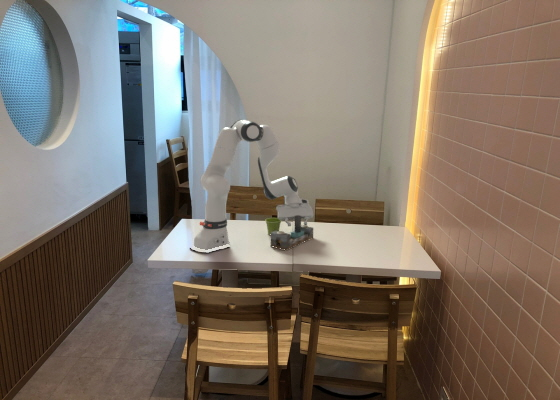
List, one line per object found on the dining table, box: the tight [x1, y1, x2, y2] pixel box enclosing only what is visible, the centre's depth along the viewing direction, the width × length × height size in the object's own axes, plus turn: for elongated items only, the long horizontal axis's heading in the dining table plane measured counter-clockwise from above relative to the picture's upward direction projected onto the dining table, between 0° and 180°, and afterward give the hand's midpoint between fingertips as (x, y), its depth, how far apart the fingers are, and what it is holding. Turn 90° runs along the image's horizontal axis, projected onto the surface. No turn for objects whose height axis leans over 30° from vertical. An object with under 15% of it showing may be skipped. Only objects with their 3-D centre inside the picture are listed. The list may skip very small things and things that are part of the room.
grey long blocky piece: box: [270, 224, 314, 251], centre depth 253 cm, size 27×10×9 cm, turn 144°
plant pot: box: [265, 217, 283, 235], centre depth 266 cm, size 9×9×9 cm
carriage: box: [290, 215, 304, 238], centre depth 256 cm, size 6×5×12 cm
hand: (297, 225), depth 256 cm, fingers open, 8 cm apart
